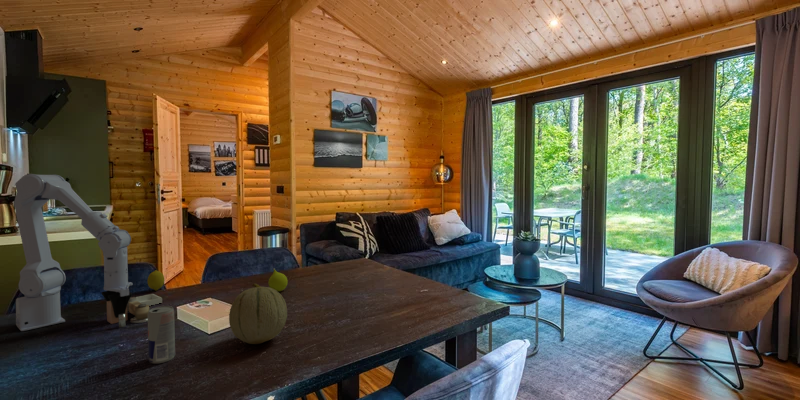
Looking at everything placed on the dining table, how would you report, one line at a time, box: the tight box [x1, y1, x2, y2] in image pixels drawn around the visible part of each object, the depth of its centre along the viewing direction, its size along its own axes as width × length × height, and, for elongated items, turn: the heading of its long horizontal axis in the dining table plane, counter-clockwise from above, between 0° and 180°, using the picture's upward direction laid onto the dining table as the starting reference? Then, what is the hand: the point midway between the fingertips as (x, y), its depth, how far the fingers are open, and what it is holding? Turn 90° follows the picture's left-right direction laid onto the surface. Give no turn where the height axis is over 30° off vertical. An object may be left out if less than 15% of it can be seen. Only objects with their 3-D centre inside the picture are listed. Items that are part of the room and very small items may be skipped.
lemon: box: [147, 269, 165, 291], centre depth 146 cm, size 6×6×8 cm
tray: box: [136, 293, 163, 307], centre depth 130 cm, size 8×8×2 cm
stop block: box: [106, 301, 128, 325], centre depth 115 cm, size 4×4×6 cm
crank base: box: [118, 313, 148, 329], centre depth 114 cm, size 10×6×4 cm, turn 143°
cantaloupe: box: [228, 283, 288, 345], centre depth 101 cm, size 15×15×15 cm
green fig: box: [267, 267, 289, 293], centre depth 147 cm, size 7×7×10 cm
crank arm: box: [127, 296, 150, 319], centre depth 118 cm, size 12×4×4 cm, turn 53°
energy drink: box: [147, 305, 176, 364], centre depth 90 cm, size 5×5×12 cm
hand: (117, 315), depth 115 cm, fingers closed on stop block, 4 cm apart
